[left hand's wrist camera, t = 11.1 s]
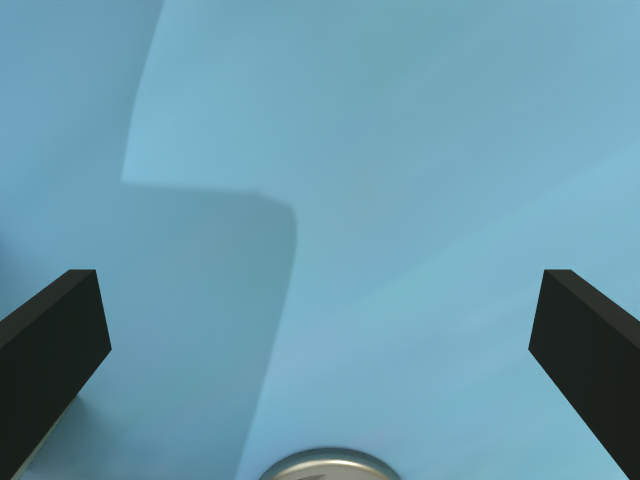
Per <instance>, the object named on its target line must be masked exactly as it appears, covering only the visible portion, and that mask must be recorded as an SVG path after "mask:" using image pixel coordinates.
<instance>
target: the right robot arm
mask: <svg viewBox="0 0 640 480" xmlns="http://www.w3.org/2000/svg"><path fill="white" fill-rule="evenodd" d="M259 480H401V479H400V478H399V477H398V475H397V474H396V473H395V472H394V471H393V470H392V469H391V468H389V467H388V466H387V465H385V464H384V463H382V462H381V461H379V460H377V459H375V458H373V457H371V456H369V455H366V454H363V453H360V452H356V451H351V450H346V449H334V448H327V449H315V450H309V451H305V452H301V453H298V454H295V455H292V456H290V457H287V458H285V459H283V460H281V461H280V462H278V463H276V464H275V465H274V466H272V467H271V468H270V469H269V470H267V471H266V472H265V473H264V474H263V475H262V477H261V478H260V479H259Z"/></svg>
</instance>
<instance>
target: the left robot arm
mask: <svg viewBox="0 0 640 480" xmlns="http://www.w3.org/2000/svg"><path fill="white" fill-rule="evenodd" d="M111 350H112V348H111V343H110V338H109V333H108V328H107V323H106V318H105V313H104V309H103V304H102V299H101V294H100V289H99V284H98V279H97V274H96V270H68V271H67V272H66V273H64V274H63V275H62V276H60V277H59V278H58V279H56V280H55V281H54V282H52V283H51V284H50V285H48V286H47V287H46V288H44V289H43V290H42V291H40V292H39V293H38V294H36V295H35V296H34V297H32V298H31V299H30V300H28V301H27V302H26V303H24V304H23V305H22V306H20V307H19V308H18V309H16V310H15V311H14V312H12V313H11V314H10V315H8V316H7V317H6V318H4V319H3V320H2V321H0V480H11V478H12V477H13V476H14V475H15V473H16V472H17V471H18V469H19V468H20V467H21V466H22V464H23V463H24V462H25V460H26V459H27V458H28V457H29V455H30V454H31V453H32V451H33V450H34V449H35V448H36V446H37V445H38V444H39V442H40V441H41V440H42V439H43V437H44V436H45V435H46V433H47V432H48V431H49V430H50V428H51V427H52V426H53V424H54V423H55V422H56V421H57V419H58V418H59V417H60V415H61V414H62V413H63V412H64V410H65V409H66V408H67V406H68V405H69V404H70V403H71V401H72V400H73V399H74V397H75V396H76V395H77V394H78V392H79V391H80V390H81V388H82V387H83V386H84V385H85V383H86V382H87V381H88V379H89V378H90V377H91V375H92V374H93V373H94V372H95V370H96V369H97V368H98V366H99V365H100V364H101V363H102V361H103V360H104V359H105V357H106V356H107V355H108V354H109V352H110V351H111ZM528 350H529V351H530V352H531V354H532V355H533V356H534V357H535V359H536V360H537V361H538V363H539V364H540V365H541V366H542V368H543V369H544V370H545V372H546V373H547V374H548V375H549V377H550V378H551V379H552V381H553V382H554V383H555V385H556V386H557V387H558V388H559V390H560V391H561V392H562V394H563V395H564V396H565V397H566V399H567V400H568V401H569V403H570V404H571V405H572V406H573V408H574V409H575V410H576V412H577V413H578V414H579V415H580V417H581V418H582V419H583V421H584V422H585V423H586V424H587V426H588V427H589V428H590V430H591V431H592V432H593V433H594V435H595V436H596V437H597V439H598V440H599V441H600V442H601V444H602V445H603V446H604V448H605V449H606V450H607V451H608V453H609V454H610V455H611V457H612V458H613V459H614V460H615V462H616V463H617V464H618V466H619V467H620V468H621V469H622V471H623V472H624V473H625V475H626V476H627V477H628V478H629V480H640V321H638V320H637V319H636V318H634V317H633V316H632V315H630V314H629V313H628V312H626V311H625V310H624V309H622V308H621V307H620V306H618V305H617V304H616V303H614V302H613V301H612V300H610V299H609V298H608V297H606V296H605V295H604V294H602V293H601V292H600V291H598V290H597V289H596V288H594V287H593V286H592V285H590V284H589V283H588V282H586V281H585V280H584V279H582V278H581V277H580V276H578V275H577V274H576V273H574V272H573V271H572V270H544V274H543V279H542V284H541V289H540V294H539V299H538V304H537V309H536V313H535V318H534V323H533V328H532V333H531V338H530V343H529V348H528Z"/></svg>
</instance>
